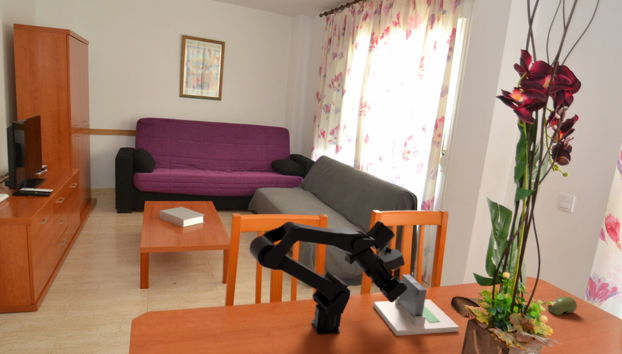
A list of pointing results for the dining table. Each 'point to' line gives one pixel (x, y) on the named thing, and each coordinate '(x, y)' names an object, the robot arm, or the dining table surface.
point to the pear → (563, 305)
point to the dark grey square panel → (413, 296)
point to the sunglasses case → (461, 301)
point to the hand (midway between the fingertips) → (398, 295)
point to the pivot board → (415, 319)
